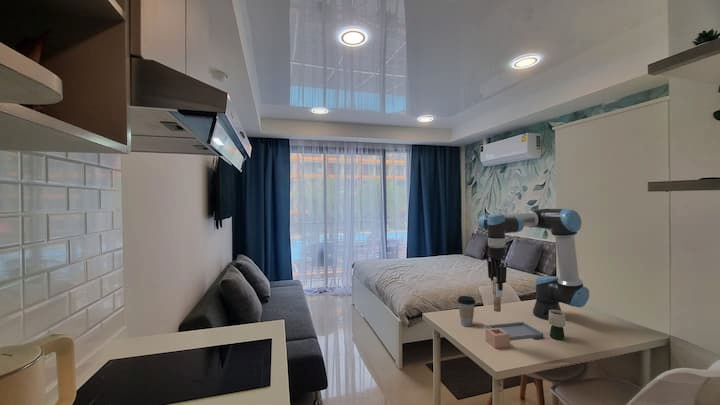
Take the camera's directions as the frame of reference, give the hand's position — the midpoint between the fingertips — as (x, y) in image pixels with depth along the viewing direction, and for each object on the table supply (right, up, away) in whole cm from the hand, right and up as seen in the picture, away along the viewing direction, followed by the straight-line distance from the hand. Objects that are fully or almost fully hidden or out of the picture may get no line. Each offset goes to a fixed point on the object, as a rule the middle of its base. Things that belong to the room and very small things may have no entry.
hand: (497, 295), depth 148 cm
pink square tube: (0, -24, 0) cm, 25 cm away
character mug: (+34, -24, +8) cm, 42 cm away
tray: (+14, -24, +13) cm, 31 cm away
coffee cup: (-6, -24, +25) cm, 36 cm away
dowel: (0, -7, 0) cm, 7 cm away
